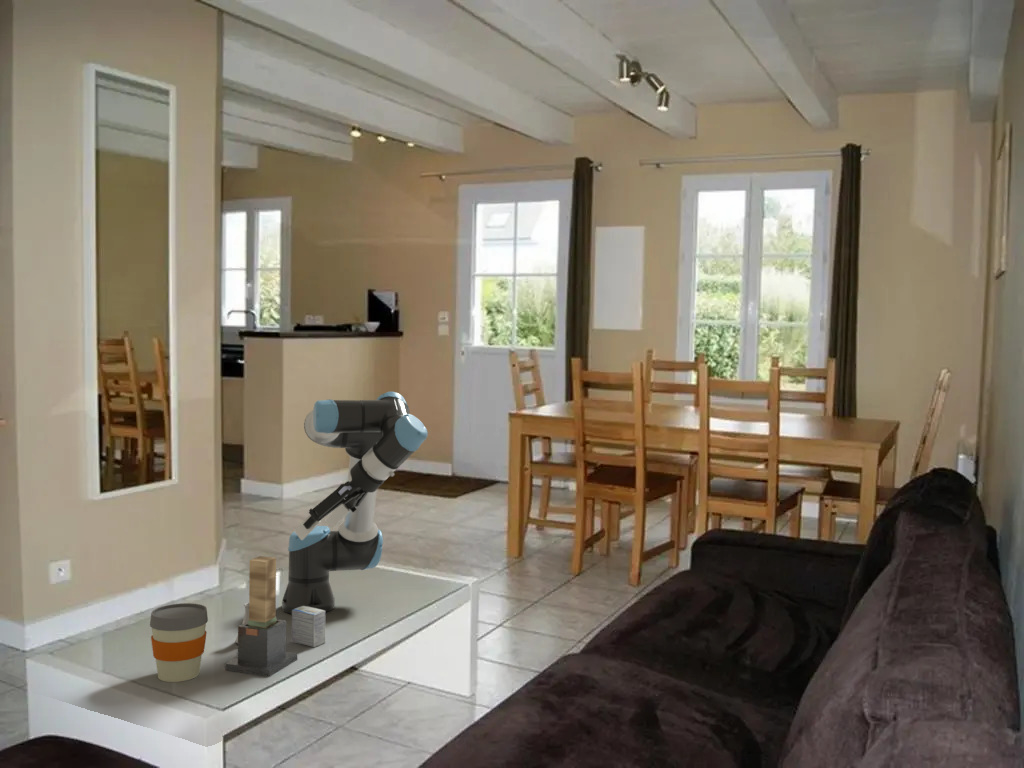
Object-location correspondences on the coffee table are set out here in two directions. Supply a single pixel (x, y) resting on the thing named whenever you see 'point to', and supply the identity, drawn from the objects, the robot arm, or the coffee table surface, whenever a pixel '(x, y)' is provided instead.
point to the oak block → (262, 592)
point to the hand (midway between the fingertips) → (313, 530)
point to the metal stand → (261, 650)
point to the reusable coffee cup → (178, 640)
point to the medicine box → (308, 626)
